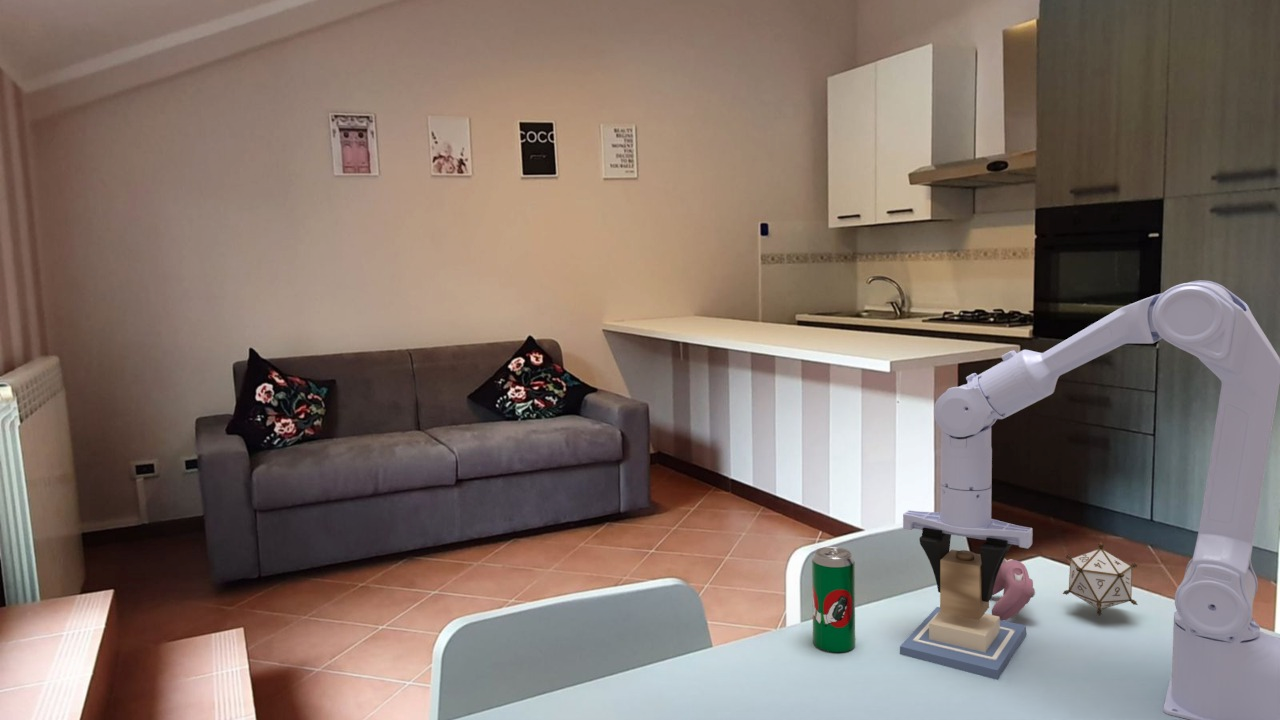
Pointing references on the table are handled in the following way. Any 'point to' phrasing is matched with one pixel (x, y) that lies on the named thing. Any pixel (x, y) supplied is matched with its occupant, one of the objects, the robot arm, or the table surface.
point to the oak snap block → (962, 585)
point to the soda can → (833, 599)
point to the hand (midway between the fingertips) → (964, 594)
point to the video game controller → (1012, 589)
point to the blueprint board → (963, 658)
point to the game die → (1100, 579)
